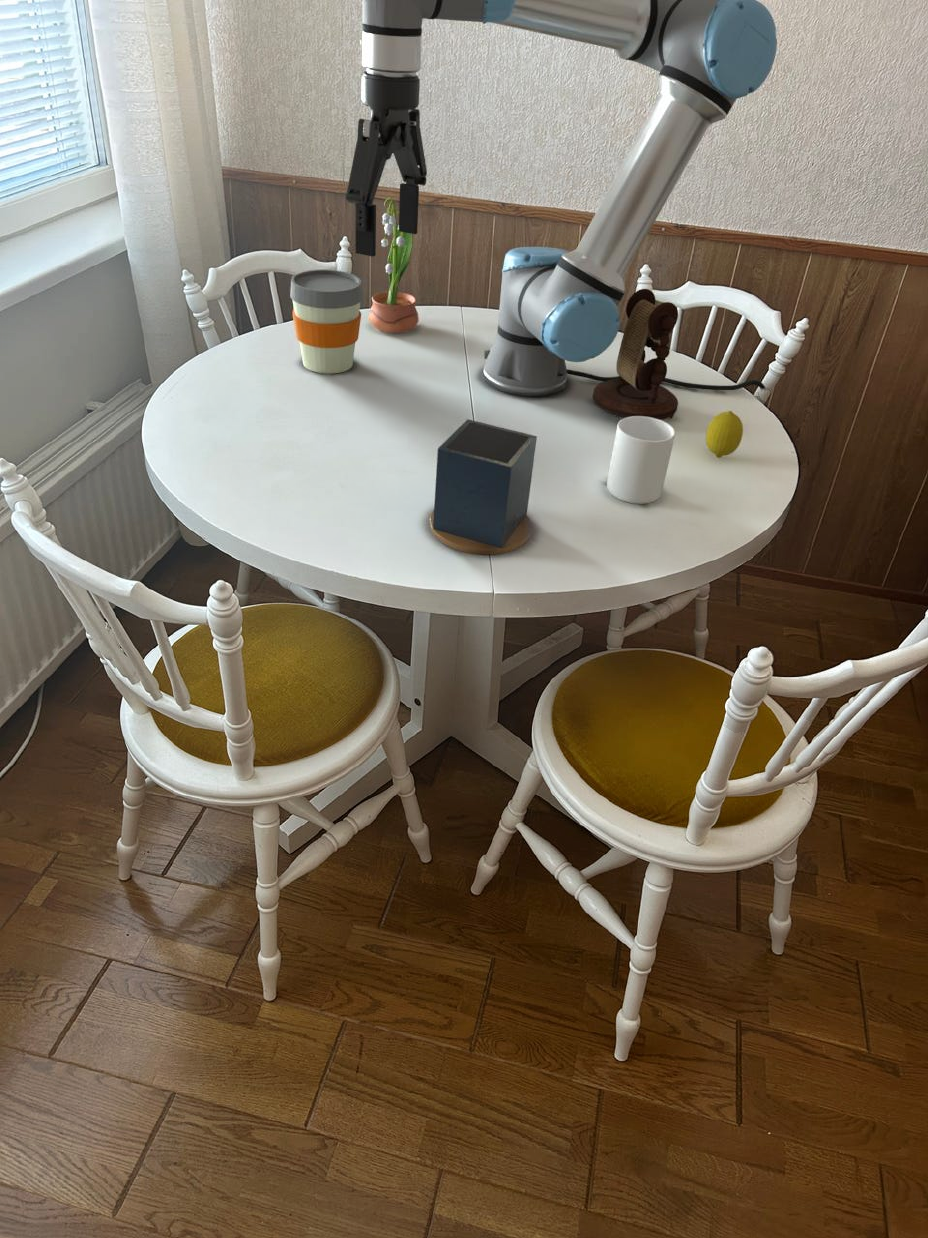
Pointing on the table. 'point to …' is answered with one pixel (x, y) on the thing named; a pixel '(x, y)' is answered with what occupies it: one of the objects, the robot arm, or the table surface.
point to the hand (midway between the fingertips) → (387, 243)
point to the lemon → (724, 434)
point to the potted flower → (394, 283)
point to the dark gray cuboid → (483, 482)
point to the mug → (640, 459)
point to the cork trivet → (477, 547)
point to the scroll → (641, 362)
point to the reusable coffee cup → (326, 318)
